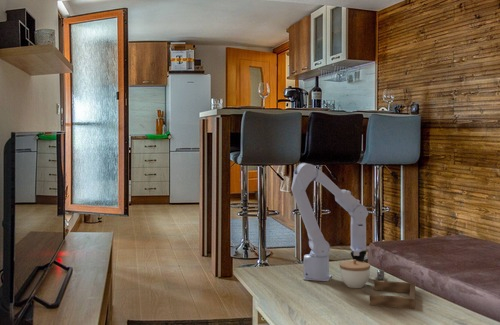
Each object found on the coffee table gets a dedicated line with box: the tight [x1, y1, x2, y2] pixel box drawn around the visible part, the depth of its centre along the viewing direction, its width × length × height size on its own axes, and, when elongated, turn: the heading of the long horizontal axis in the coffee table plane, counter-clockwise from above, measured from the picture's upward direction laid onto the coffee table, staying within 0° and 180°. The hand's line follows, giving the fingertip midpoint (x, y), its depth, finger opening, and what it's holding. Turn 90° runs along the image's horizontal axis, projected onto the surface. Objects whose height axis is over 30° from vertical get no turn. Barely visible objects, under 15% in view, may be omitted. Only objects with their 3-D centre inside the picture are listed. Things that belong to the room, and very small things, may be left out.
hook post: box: [376, 269, 385, 281], centre depth 175 cm, size 2×4×6 cm, turn 161°
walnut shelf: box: [369, 279, 416, 310], centre depth 164 cm, size 14×18×3 cm
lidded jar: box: [339, 259, 371, 289], centre depth 179 cm, size 11×11×9 cm
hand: (358, 270), depth 190 cm, fingers closed
